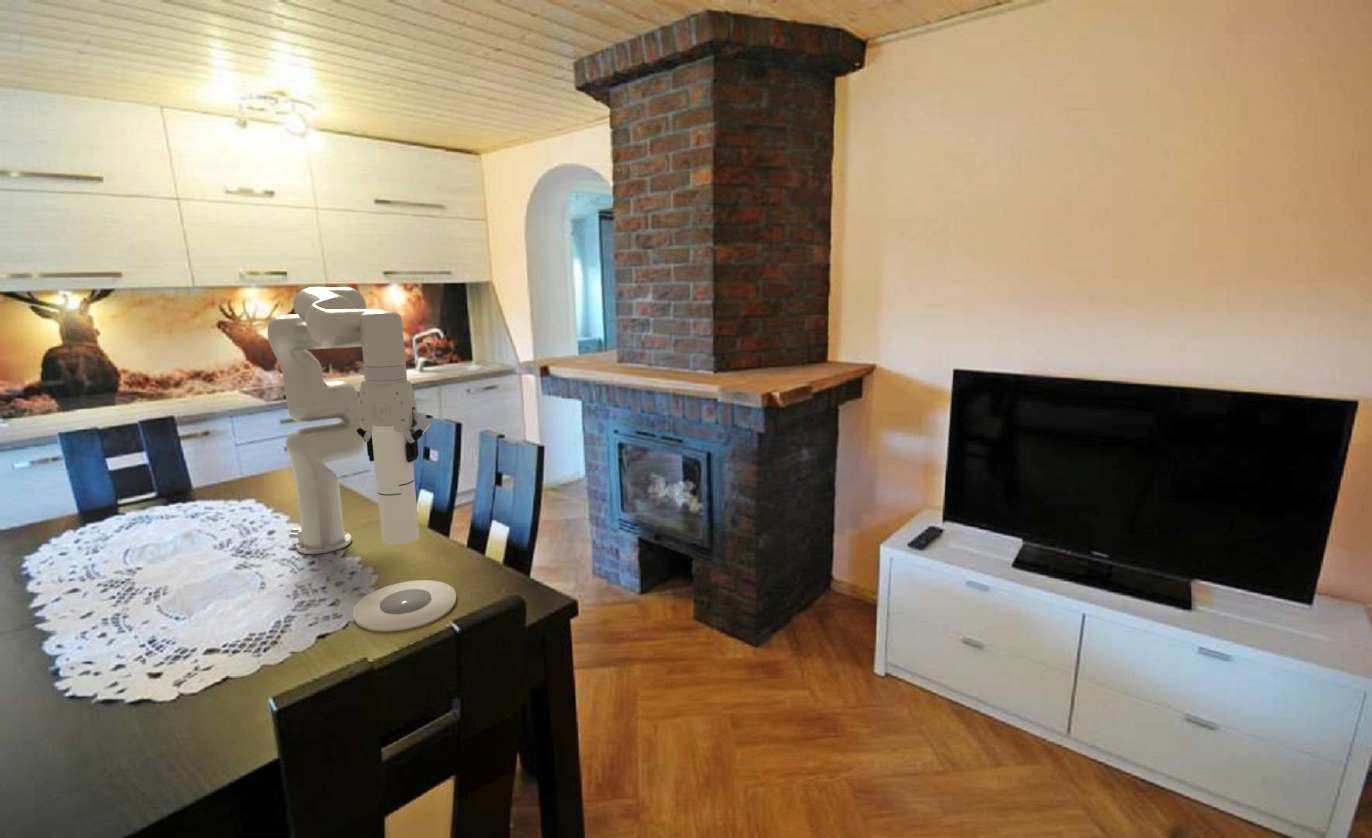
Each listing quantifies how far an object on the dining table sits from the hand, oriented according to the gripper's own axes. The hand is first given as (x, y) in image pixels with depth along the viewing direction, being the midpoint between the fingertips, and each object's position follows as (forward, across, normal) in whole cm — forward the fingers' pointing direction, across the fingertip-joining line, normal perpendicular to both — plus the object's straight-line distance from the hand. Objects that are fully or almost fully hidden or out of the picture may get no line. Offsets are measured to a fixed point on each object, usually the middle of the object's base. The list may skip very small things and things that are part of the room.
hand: (393, 459), depth 127 cm
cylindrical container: (+17, 0, 0) cm, 17 cm away
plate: (+32, 0, -1) cm, 32 cm away
